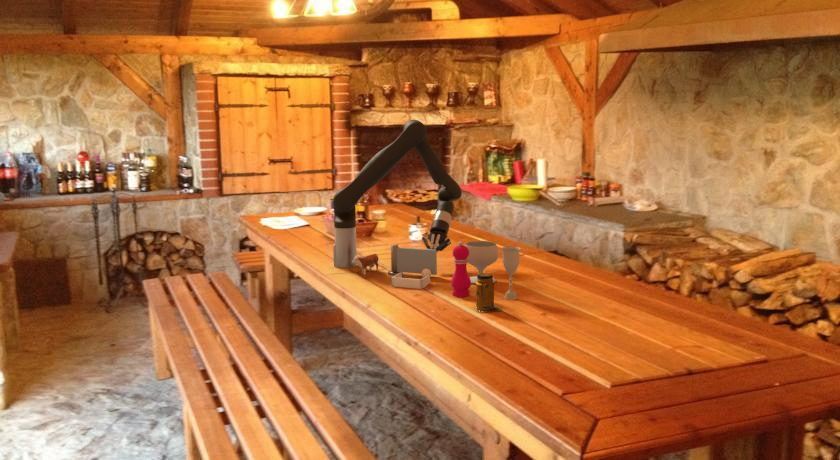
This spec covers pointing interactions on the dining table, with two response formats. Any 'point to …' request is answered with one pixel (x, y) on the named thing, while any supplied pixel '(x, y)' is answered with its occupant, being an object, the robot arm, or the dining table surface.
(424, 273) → the ball
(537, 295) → the dining table surface
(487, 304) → the condiment
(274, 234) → the dining table surface
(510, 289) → the chalice
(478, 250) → the chalice
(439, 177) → the robot arm
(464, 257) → the pepper mill
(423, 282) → the pocket
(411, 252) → the paddle
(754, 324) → the dining table surface
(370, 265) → the bull figurine
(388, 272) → the lever base
